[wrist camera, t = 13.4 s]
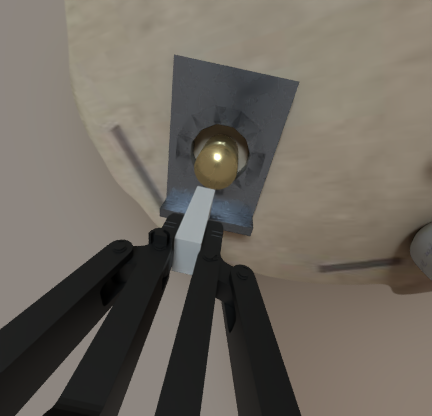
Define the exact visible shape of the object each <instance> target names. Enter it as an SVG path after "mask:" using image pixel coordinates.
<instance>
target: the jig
mask: <svg viewBox="0 0 432 416" xmlns="http://www.w3.org/2000/svg"><path fill="white" fill-rule="evenodd" d="M298 85H299V82H298V81H293V80H289V79H284V78H279V77H275V76H270V75H266V74H261V73H256V72H252V71H247V70H243V69H238V68H234V67H229V66H224V65H220V64H215V63H211V62H206V61H201V60H197V59H192V58H188V57H183V56H178V55H174V66H173V85H172V104H171V123H170V142H169V161H168V180H167V198H166V200H165V201H164V203H163V204H162V206H161V207H160V216H161V217H165V218H168V216H169V215H171V214H172V213H177V214H182V215H185V213H186V211H187V209H188V206H189V204H190V202H191V199H192V197H193V195H194V193H195V190H196V188H197V186H200V187H205V186H204V185H202V184H201V183H200V182H199V181H198V179H197V177H196V175H195V172H194V164H195V161H196V159H195V157H194V154H193V149H194V141H195V138H196V136H197V135H198V134H199V133H200V131H201V130H202V129H204V128H207V127H210V126H212V125H215V124H220V125H225V126H230V127H234V128H235V129H236V130H237V131H238V132H239V133H240V134H241V135H242V136H243V137H244V138H245V139H246V141H247V144H248V148H249V156H248V159H247V163H246V165H245V166H244V167H243V168H242V169H241V170H240V171H239V172H238V173H237V175H236V178H235V180H234V181H233V182H232V184H230V185H229V186H228V187H226V188H223V189H218V190H215V189H214V190H215V193H214V198H213V203H212V208H211V213H210V218H209V220H211V221H216V222H221V223H222V225H223V227H224V229H223V230H225V231H229V232H234V233H238V234H243V235H247V236H251V233H252V230H253V219H252V217H253V214H254V211H255V208H256V205H257V202H258V199H259V196H260V194H261V191H262V188H263V185H264V182H265V179H266V176H267V174H268V171H269V168H270V165H271V162H272V159H273V156H274V153H275V151H276V148H277V145H278V142H279V139H280V136H281V133H282V130H283V128H284V125H285V122H286V119H287V116H288V113H289V110H290V107H291V105H292V102H293V99H294V96H295V93H296V90H297V87H298ZM205 188H207V187H205ZM209 189H210V188H209Z"/></svg>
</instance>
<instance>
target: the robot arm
mask: <svg viewBox="0 0 432 416" xmlns="http://www.w3.org/2000/svg"><path fill="white" fill-rule="evenodd" d="M214 193H215V190H214V189H209V188H205V187H200V186H197V188H196V190H195V193H194V195H193V197H192V199H191V202H190V204H189V206H188V209H187V211H186V213H185V215H182V214H177V213H172V214H171V215H169V216H168V218H167V219H166V222H165V223H164V225H163V226H162V228H156V229H153V230H151V231H150V232H149V244H148V245H145V246H133V245H132V243H131V242H129V241H127V240H116V241H113V242H112V243H110V244H109V245H107V246H106V247H105V248H103V249H102V250H101V251H100V252H98V253H97V254H96V255H95V256H93V257H92V258H91V259H89V260H88V261H87V262H86V263H84V264H83V265H82V266H81V267H79V268H78V269H77V270H75V271H74V272H73V273H72V274H70V275H69V276H68V277H66V278H65V279H64V280H63V281H62V282H60V283H59V284H58V285H56V286H55V287H54V288H52V289H51V290H50V291H49V292H47V293H46V294H45V295H44V296H42V297H41V298H40V299H38V300H37V301H36V302H35V303H33V304H32V305H31V306H30V307H28V308H27V309H26V310H24V311H23V312H22V313H21V314H19V315H18V316H17V317H15V318H14V319H13V320H12V321H11V322H9V323H8V324H7V325H6V326H4V327H3V328H1V329H0V416H15V415H16V414H17V413H18V412H19V411H20V409H21V408H22V407H23V406H24V405H25V404H26V403H27V402H28V400H29V399H30V398H31V397H32V396H33V395H34V394H35V393H36V391H37V390H38V389H39V388H40V387H41V386H42V385H43V384H44V382H45V381H46V380H47V379H48V378H49V377H50V376H51V375H52V373H53V372H54V371H55V370H56V369H57V368H58V367H59V365H60V364H61V363H62V362H63V361H64V360H65V358H67V356H68V355H69V354H70V353H71V352H72V351H73V350H74V348H75V347H76V346H77V345H78V344H79V343H80V342H81V341H82V339H83V338H84V337H85V336H86V335H87V334H88V333H89V332H90V330H91V329H92V328H93V327H94V326H95V325H96V324H97V323H98V321H99V320H100V319H101V318H102V317H103V316H104V315H105V313H106V312H107V311H108V310H109V309H110V308H111V307H112V308H111V310H110V312H109V313H108V315H107V317H106V318H105V320H104V322H103V324H102V326H101V327H100V329H99V330H98V332H97V334H96V336H95V337H94V339H93V341H92V343H91V344H90V346H89V348H88V349H87V351H86V353H85V355H84V356H83V358H82V360H81V361H80V363H79V365H78V367H77V369H76V370H75V372H74V374H73V375H72V377H71V379H70V380H69V382H68V384H67V386H66V387H65V389H64V391H63V393H62V394H61V396H60V398H59V399H58V401H57V402H56V404H55V405H54V406H53V407H52V408H51V409H50V410H48V411H47V412H46V413H45V414H44V415H43V416H117V415H118V413H119V410H120V407H121V405H122V402H123V399H124V397H125V394H126V391H127V389H128V386H129V383H130V381H131V378H132V375H133V372H134V370H135V367H136V365H137V362H138V359H139V356H140V354H141V351H142V348H143V346H144V343H145V341H146V338H147V335H148V333H149V330H150V327H151V325H152V322H153V319H154V316H155V314H156V311H157V309H158V306H159V303H160V301H161V298H162V295H163V293H164V290H165V287H166V285H167V282H168V279H169V273H170V270H171V267H172V271H176V272H180V273H185V274H190V275H192V278H191V281H190V285H189V289H188V293H187V297H186V300H185V304H184V308H183V311H182V315H181V319H180V323H179V326H178V330H177V334H176V338H175V342H174V345H173V349H172V353H171V356H170V360H169V364H168V368H167V372H166V375H165V379H164V383H163V386H162V390H161V394H160V397H159V401H158V405H157V409H156V412H155V416H200V411H201V402H202V395H203V388H204V379H205V373H206V365H207V357H208V349H209V342H210V335H211V326H212V319H213V311H214V304H215V298H217V299H219V300H221V301H222V309H223V314H224V322H225V329H226V336H227V342H228V348H229V355H230V362H231V368H232V375H233V382H234V389H235V395H236V402H237V408H238V416H301V414H300V410H299V407H298V405H297V401H296V399H295V395H294V392H293V389H292V386H291V383H290V381H289V377H288V374H287V371H286V368H285V365H284V362H283V359H282V356H281V353H280V350H279V347H278V344H277V341H276V338H275V335H274V332H273V329H272V326H271V323H270V320H269V317H268V314H267V311H266V308H265V305H264V302H263V299H262V296H261V293H260V290H259V287H258V284H257V281H256V278H255V275H254V273H253V271H252V270H251V269H250V268H249V267H247V266H245V265H235V266H234V267H233V266H231V265H229V264H227V263H226V262H225V261H223V259H222V258H221V255H220V252H221V244H222V236H223V229H224V227H223V225H222V223H221V222H216V221H211V220H209V218H210V213H211V208H212V203H213V198H214Z"/></svg>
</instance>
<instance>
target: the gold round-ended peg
mask: <svg viewBox="0 0 432 416" xmlns="http://www.w3.org/2000/svg"><path fill="white" fill-rule="evenodd" d="M237 166H238V146H237V144H236V142H235V141H234V140H233V139H232V138H231V137H229V136H227V135H223V134H219V135H215V136H213V137H211V138H210V139H209V140H208V141H207V142H206V144H205V146H204V147H203V149H202V151H201V152H200V154H199V155H198V157H197V159H196V161H195V164H194V172H195V175H196V177H197V179H198V181H199V182H200V183H201V184H202V185H204V186H205V187H207V188H210V189H215V190H218V189H223V188H226V187H228V186H229V185H230V184H232V182H233V181H234V180H235V178H236V175H237Z"/></svg>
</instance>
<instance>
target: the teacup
mask: <svg viewBox="0 0 432 416" xmlns="http://www.w3.org/2000/svg"><path fill="white" fill-rule="evenodd" d="M410 255H411V257H412V259H413V261H414V262H415V264H416V265H417V266H418V267H419V268H420V269H421V271H422V272H423V273H424V274H425V275H426V276H427V277H428V278H429V279H431V280H432V222H431V223H429V224H427V225H426V226H424V227H423V228H422V229H420V230H419V231H418V232H417V234H416V235H415V237H414V239H413V241H412V243H411V246H410Z"/></svg>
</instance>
